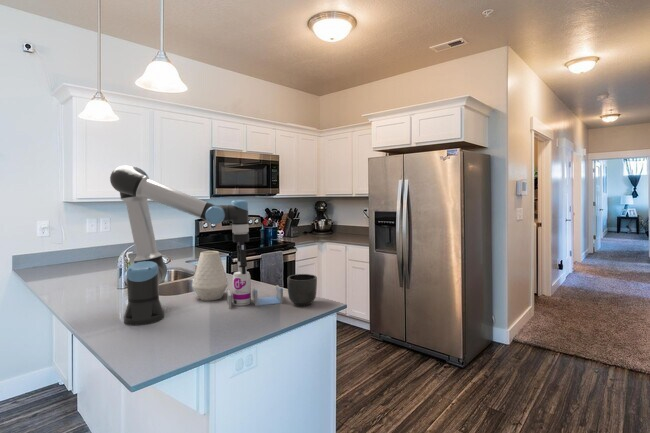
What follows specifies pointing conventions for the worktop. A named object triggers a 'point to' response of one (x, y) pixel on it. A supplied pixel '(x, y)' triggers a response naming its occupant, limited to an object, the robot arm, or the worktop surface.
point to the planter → (302, 289)
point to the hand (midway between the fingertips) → (242, 277)
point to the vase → (210, 277)
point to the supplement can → (241, 289)
